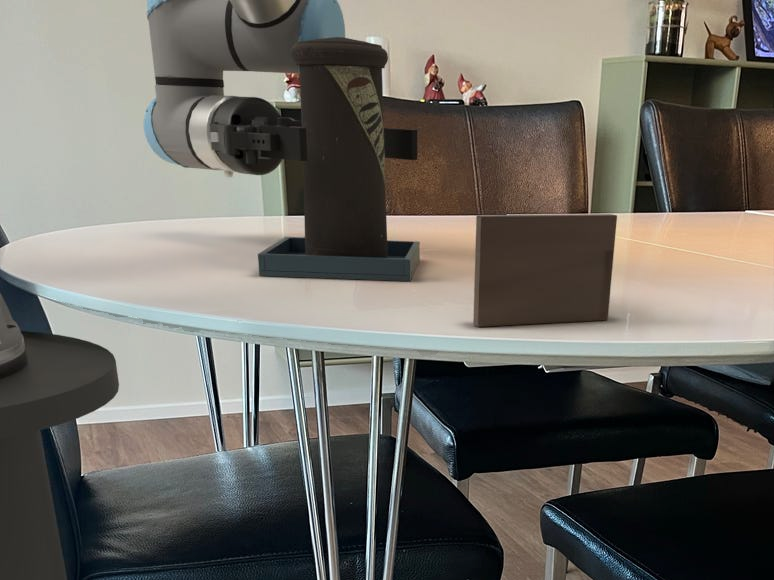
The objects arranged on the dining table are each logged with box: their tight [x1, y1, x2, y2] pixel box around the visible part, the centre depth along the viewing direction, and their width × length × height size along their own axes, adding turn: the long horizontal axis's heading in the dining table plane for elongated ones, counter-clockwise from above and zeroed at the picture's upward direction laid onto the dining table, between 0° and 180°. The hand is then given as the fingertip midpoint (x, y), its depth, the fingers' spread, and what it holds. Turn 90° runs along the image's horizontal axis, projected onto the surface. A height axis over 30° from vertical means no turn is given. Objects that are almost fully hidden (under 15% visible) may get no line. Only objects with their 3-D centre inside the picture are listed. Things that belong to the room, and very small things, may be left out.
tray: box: [257, 236, 421, 282], centre depth 103 cm, size 15×15×2 cm
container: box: [291, 37, 389, 258], centre depth 98 cm, size 9×9×20 cm
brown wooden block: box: [472, 213, 618, 328], centre depth 84 cm, size 15×12×8 cm
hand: (361, 144), depth 95 cm, fingers open, 13 cm apart
